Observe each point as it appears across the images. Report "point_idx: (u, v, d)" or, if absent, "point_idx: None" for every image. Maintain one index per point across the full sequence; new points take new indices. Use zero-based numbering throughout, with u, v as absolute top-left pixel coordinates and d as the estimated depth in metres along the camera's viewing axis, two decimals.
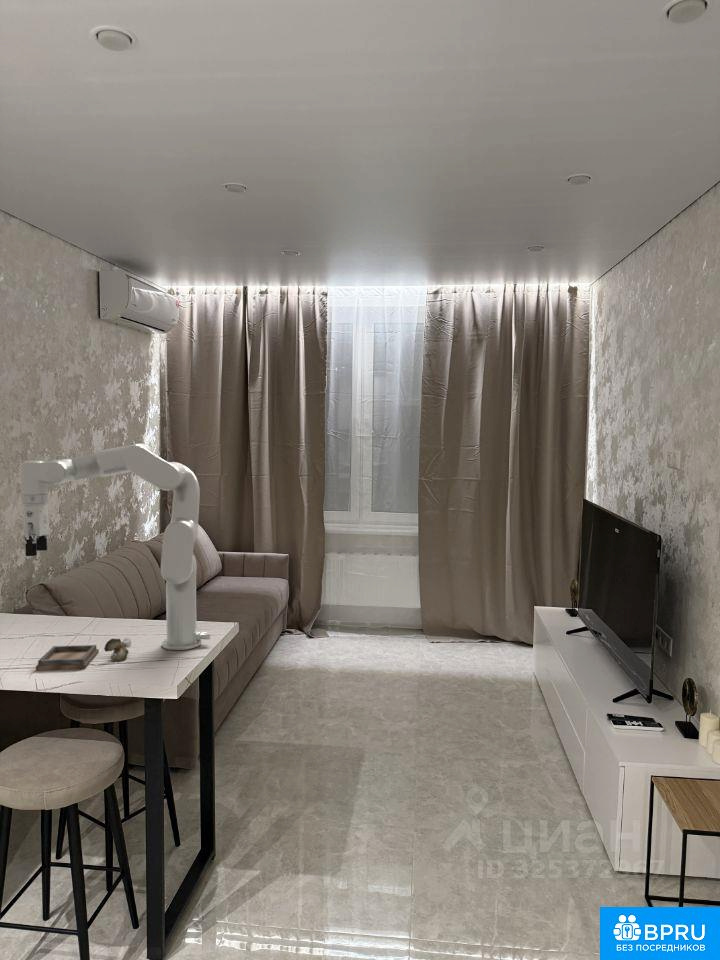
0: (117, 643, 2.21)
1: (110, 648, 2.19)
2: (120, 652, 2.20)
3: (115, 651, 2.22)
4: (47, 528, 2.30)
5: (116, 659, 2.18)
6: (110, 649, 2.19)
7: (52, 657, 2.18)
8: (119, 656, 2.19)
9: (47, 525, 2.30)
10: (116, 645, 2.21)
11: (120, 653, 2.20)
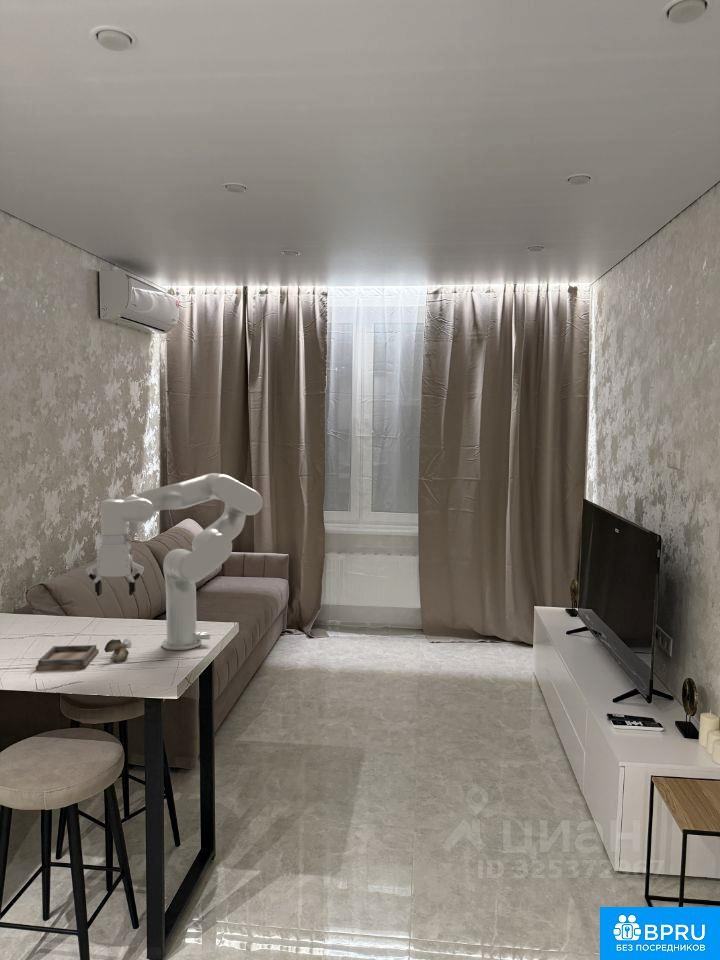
0: (117, 644, 2.20)
1: (110, 649, 2.18)
2: (120, 653, 2.19)
3: (115, 652, 2.21)
4: None
5: (117, 659, 2.18)
6: (110, 650, 2.18)
7: (52, 657, 2.18)
8: (119, 657, 2.18)
9: None
10: (116, 646, 2.20)
11: (120, 654, 2.19)
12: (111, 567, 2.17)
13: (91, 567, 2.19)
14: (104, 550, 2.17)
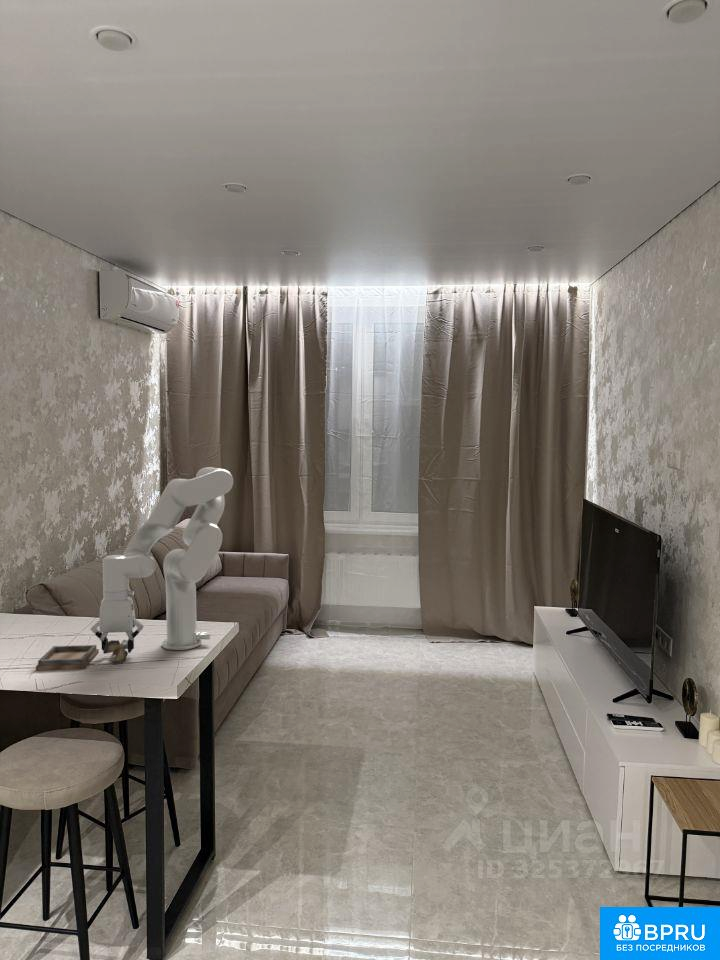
0: (116, 645, 2.19)
1: (110, 650, 2.17)
2: (120, 654, 2.18)
3: (114, 653, 2.20)
4: None
5: (116, 660, 2.17)
6: (109, 651, 2.17)
7: (52, 657, 2.18)
8: (119, 658, 2.17)
9: None
10: (115, 647, 2.19)
11: (120, 655, 2.18)
12: (113, 623, 2.19)
13: (95, 625, 2.20)
14: (106, 606, 2.18)
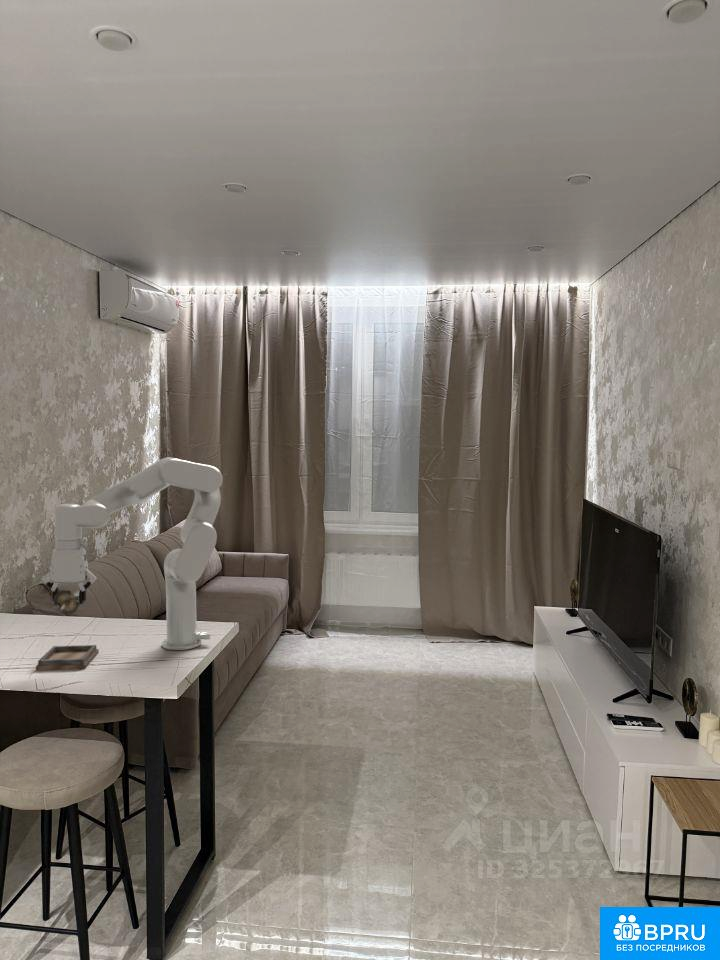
0: (67, 595, 2.14)
1: (60, 600, 2.12)
2: (70, 604, 2.13)
3: (65, 603, 2.15)
4: None
5: (67, 610, 2.12)
6: (60, 601, 2.12)
7: (52, 657, 2.18)
8: (69, 608, 2.12)
9: None
10: (66, 597, 2.14)
11: (70, 605, 2.13)
12: (64, 573, 2.14)
13: (47, 575, 2.15)
14: (58, 555, 2.13)
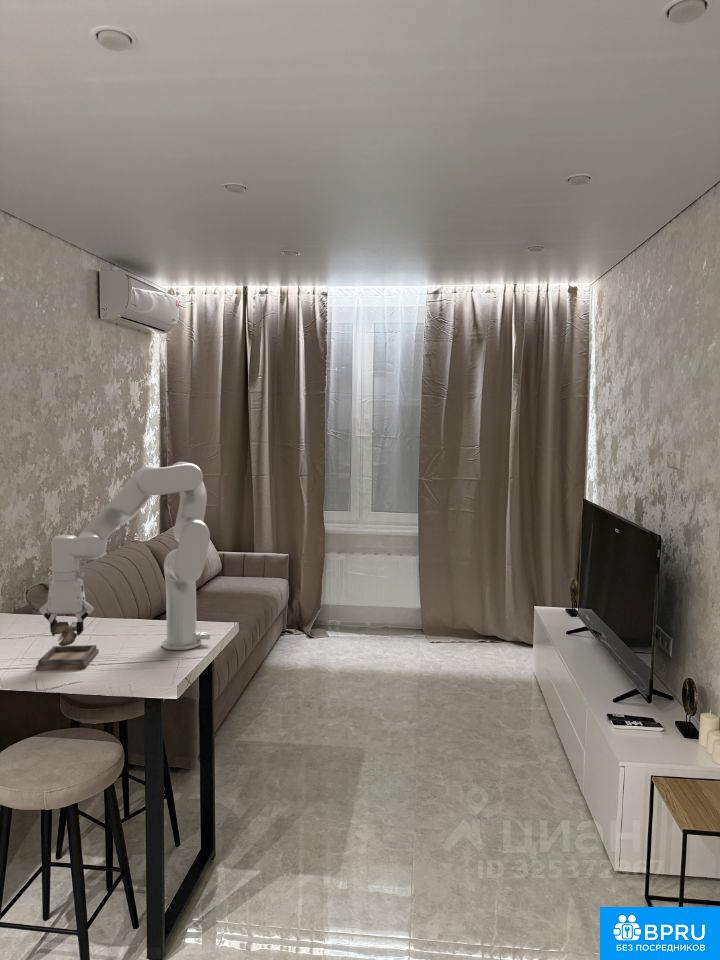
0: (65, 626, 2.15)
1: (57, 631, 2.12)
2: (68, 635, 2.14)
3: (63, 635, 2.15)
4: None
5: (64, 642, 2.12)
6: (57, 632, 2.13)
7: (52, 657, 2.18)
8: (66, 640, 2.13)
9: None
10: (64, 628, 2.14)
11: (68, 636, 2.13)
12: (62, 604, 2.14)
13: (44, 607, 2.16)
14: (55, 587, 2.14)
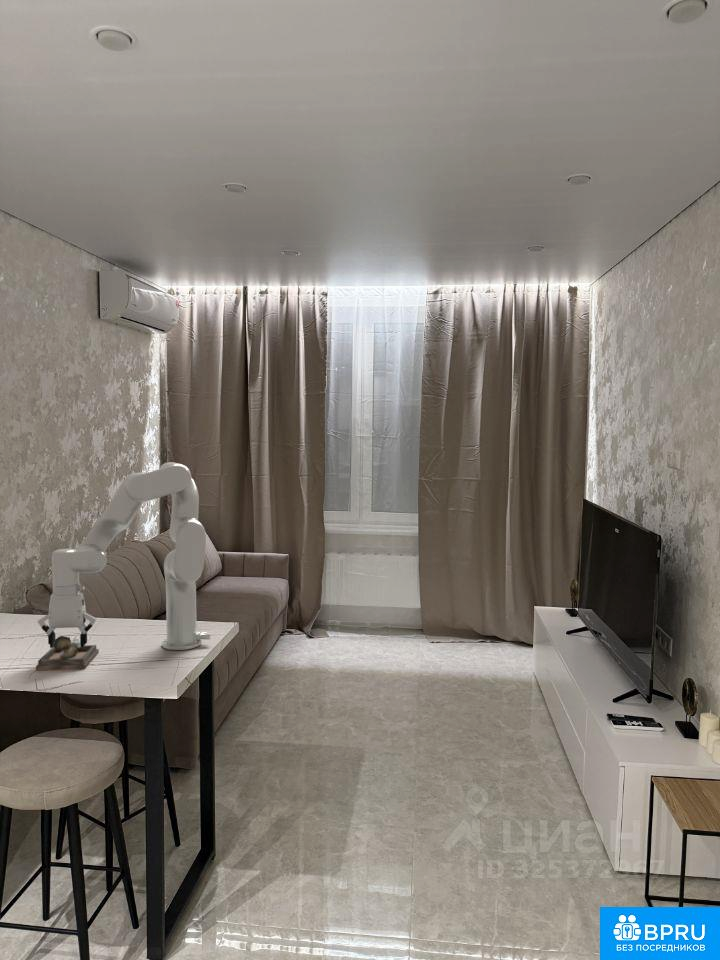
0: (67, 641, 2.16)
1: (59, 645, 2.14)
2: (69, 650, 2.15)
3: (64, 650, 2.16)
4: None
5: (65, 656, 2.13)
6: (59, 646, 2.14)
7: (52, 657, 2.18)
8: (68, 654, 2.13)
9: None
10: (66, 643, 2.15)
11: (69, 651, 2.14)
12: (62, 618, 2.15)
13: (43, 619, 2.16)
14: (55, 601, 2.14)
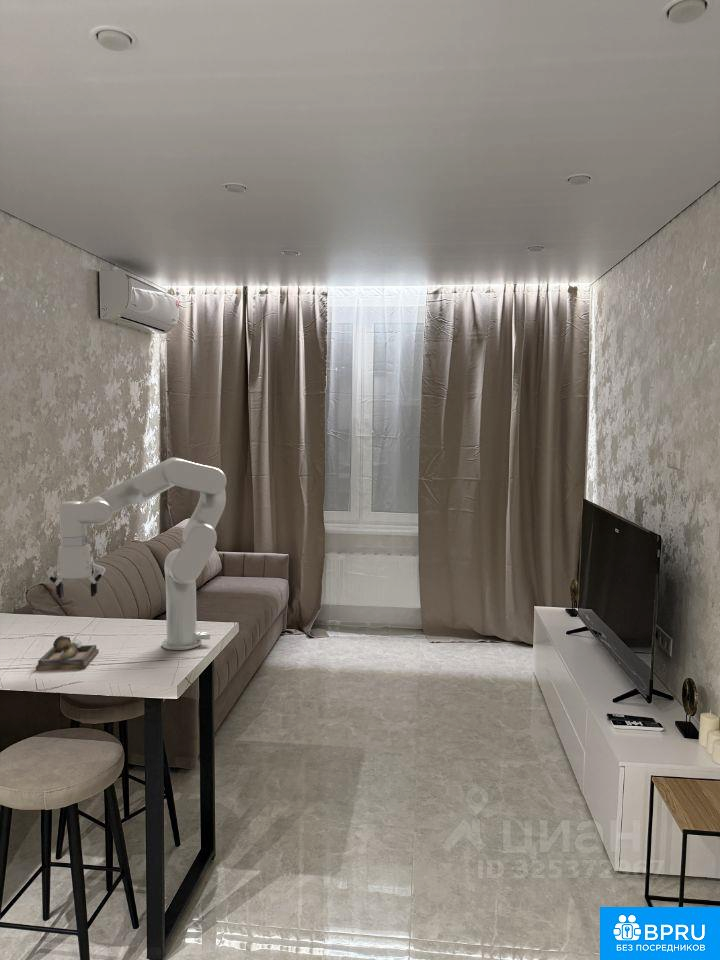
0: (67, 641, 2.16)
1: (59, 645, 2.14)
2: (69, 650, 2.15)
3: (64, 650, 2.16)
4: None
5: (65, 656, 2.13)
6: (59, 646, 2.14)
7: (52, 657, 2.18)
8: (68, 654, 2.13)
9: None
10: (66, 643, 2.15)
11: (69, 651, 2.14)
12: (71, 569, 2.17)
13: (52, 570, 2.18)
14: (64, 552, 2.17)
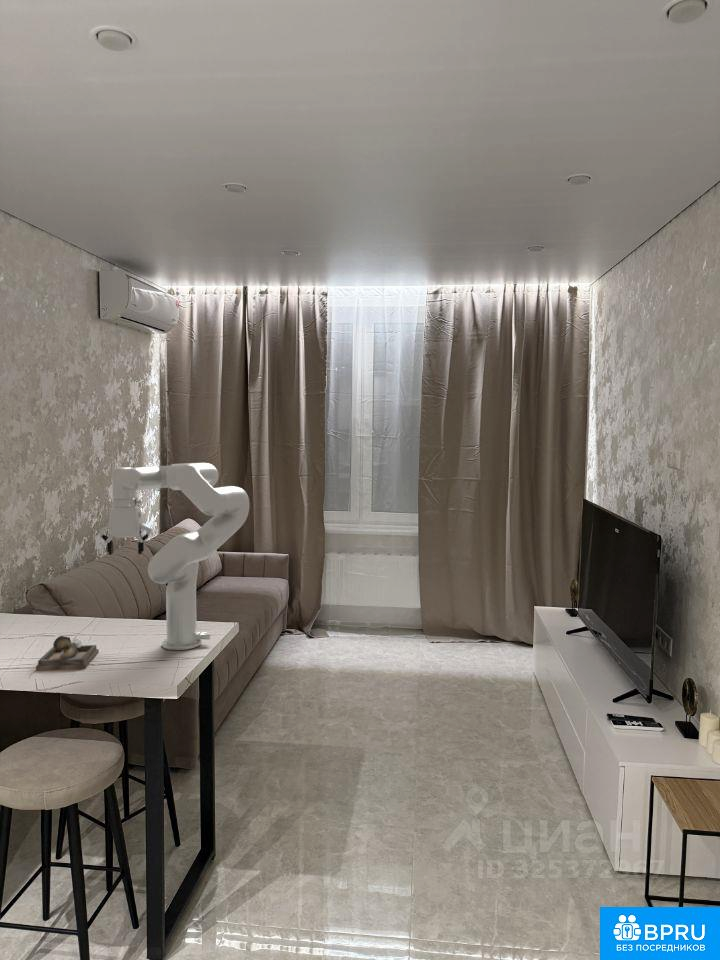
0: (67, 641, 2.16)
1: (59, 645, 2.14)
2: (69, 650, 2.15)
3: (64, 650, 2.16)
4: None
5: (65, 656, 2.13)
6: (59, 646, 2.14)
7: (52, 657, 2.18)
8: (68, 654, 2.13)
9: None
10: (66, 643, 2.15)
11: (69, 651, 2.14)
12: (121, 529, 2.39)
13: (103, 529, 2.41)
14: (115, 513, 2.39)
